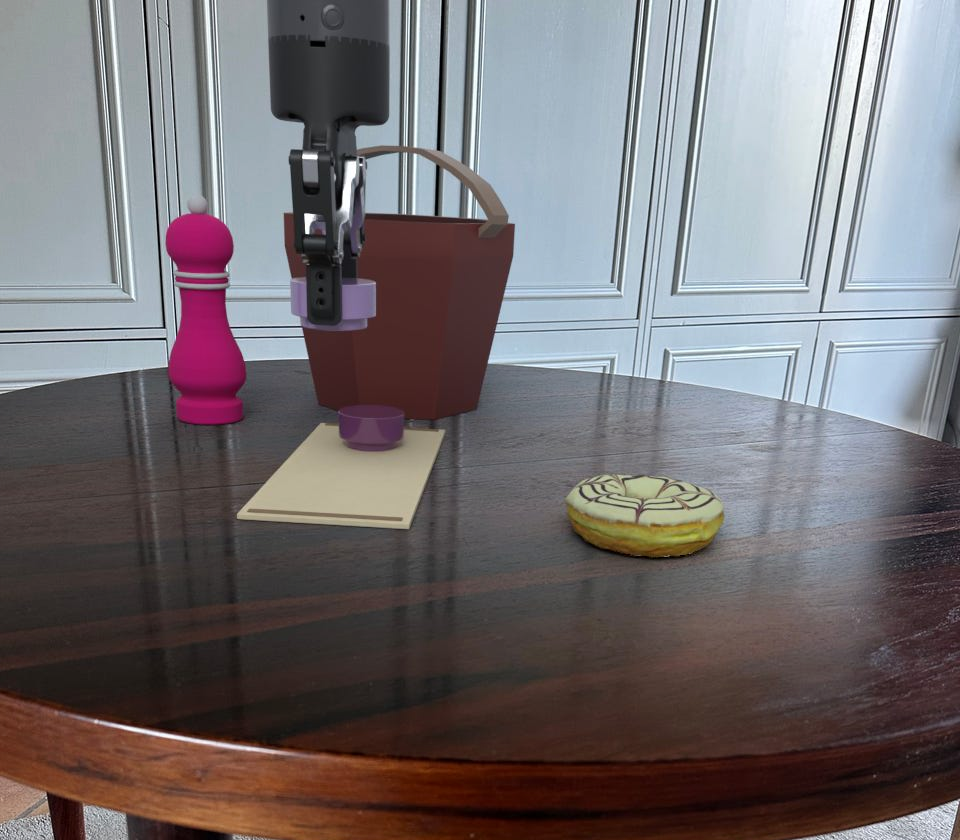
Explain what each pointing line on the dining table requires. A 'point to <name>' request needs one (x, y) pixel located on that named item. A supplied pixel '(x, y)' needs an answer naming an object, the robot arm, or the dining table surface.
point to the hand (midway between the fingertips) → (333, 317)
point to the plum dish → (371, 427)
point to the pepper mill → (204, 320)
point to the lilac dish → (354, 304)
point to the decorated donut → (644, 514)
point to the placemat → (348, 482)
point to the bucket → (418, 306)
